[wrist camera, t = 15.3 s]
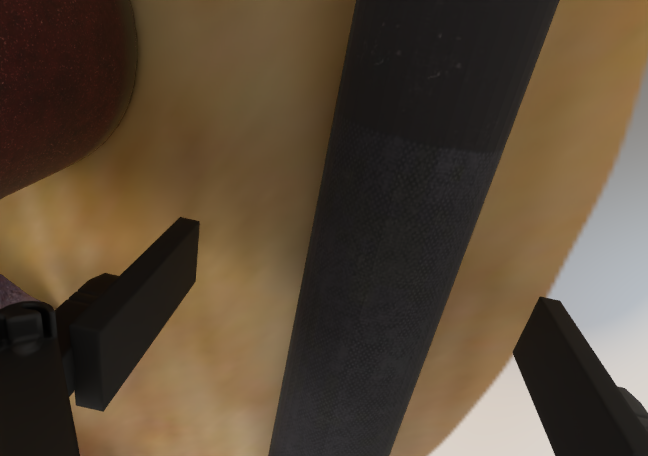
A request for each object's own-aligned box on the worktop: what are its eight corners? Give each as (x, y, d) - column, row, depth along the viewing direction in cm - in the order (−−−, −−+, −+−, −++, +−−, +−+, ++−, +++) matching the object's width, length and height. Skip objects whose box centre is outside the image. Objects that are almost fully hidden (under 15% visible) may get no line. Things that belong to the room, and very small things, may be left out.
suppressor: (671, -191, 8) (565, -110, 12) (392, -241, 8) (390, -143, 12) (351, 598, 19) (358, 490, 24) (242, 570, 19) (269, 468, 24)
